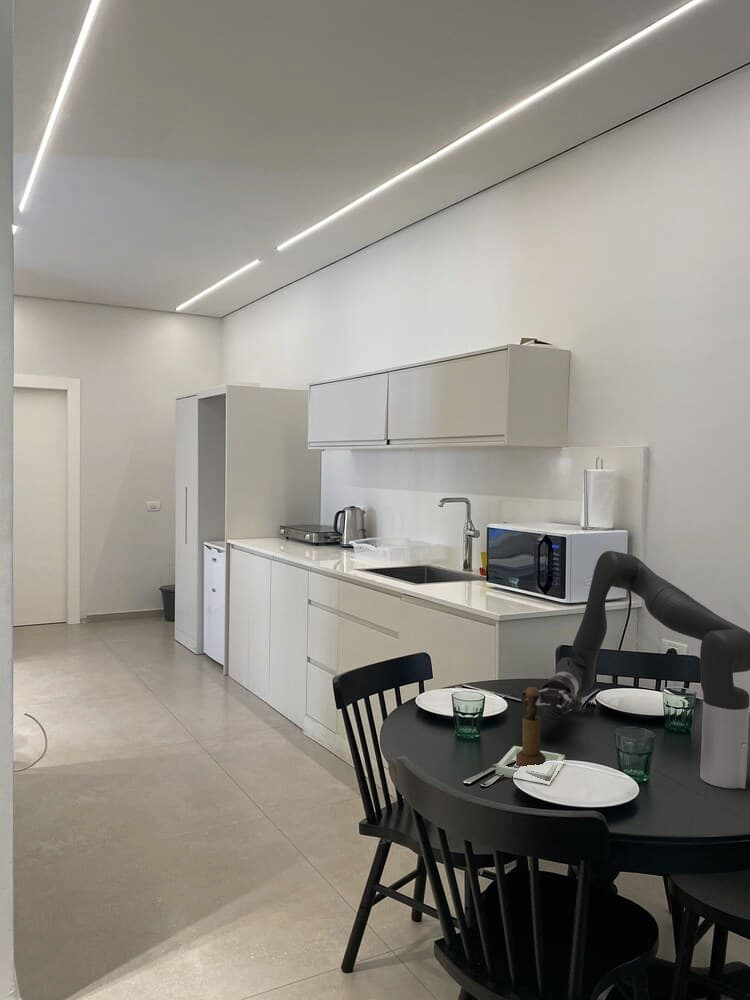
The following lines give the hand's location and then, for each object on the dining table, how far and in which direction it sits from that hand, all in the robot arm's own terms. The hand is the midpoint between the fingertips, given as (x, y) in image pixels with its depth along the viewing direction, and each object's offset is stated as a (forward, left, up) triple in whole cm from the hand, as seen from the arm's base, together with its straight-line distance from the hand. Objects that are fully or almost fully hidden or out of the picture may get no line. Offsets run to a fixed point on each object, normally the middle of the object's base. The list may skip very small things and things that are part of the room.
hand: (544, 707), depth 191 cm
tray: (0, +11, -11) cm, 16 cm away
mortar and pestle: (0, +11, -11) cm, 15 cm away
